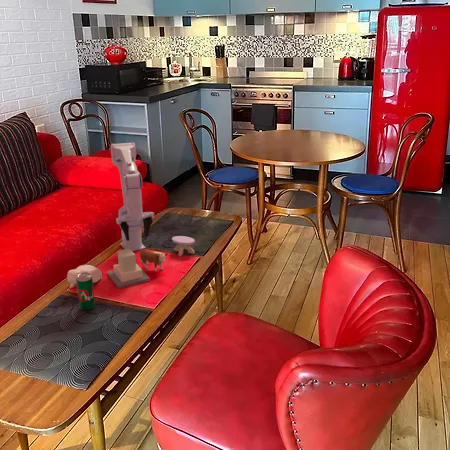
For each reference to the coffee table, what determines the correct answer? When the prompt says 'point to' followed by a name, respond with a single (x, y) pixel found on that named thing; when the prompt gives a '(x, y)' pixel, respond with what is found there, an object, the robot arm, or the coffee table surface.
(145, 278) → the tower base
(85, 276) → the soda can
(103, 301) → the coffee table surface
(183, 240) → the toy table
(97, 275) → the white lumpy shape
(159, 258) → the bull figurine
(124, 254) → the sage brick
